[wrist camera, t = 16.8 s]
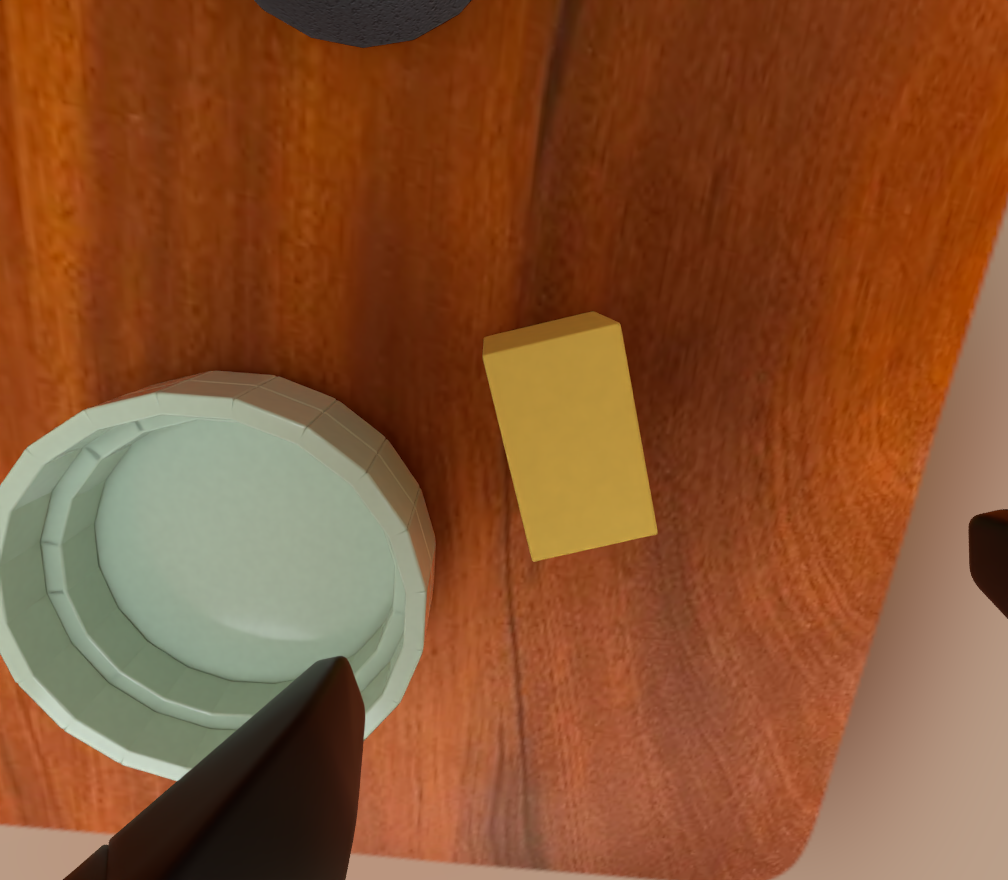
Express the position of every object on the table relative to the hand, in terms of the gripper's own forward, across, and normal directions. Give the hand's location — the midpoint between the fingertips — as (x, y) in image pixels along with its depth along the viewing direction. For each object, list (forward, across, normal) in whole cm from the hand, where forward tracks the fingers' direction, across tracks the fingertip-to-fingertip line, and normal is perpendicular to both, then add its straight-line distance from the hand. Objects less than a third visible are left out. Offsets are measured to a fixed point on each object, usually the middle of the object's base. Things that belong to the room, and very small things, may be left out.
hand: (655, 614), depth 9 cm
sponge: (+12, 0, 0) cm, 12 cm away
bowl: (+12, +11, +2) cm, 16 cm away
